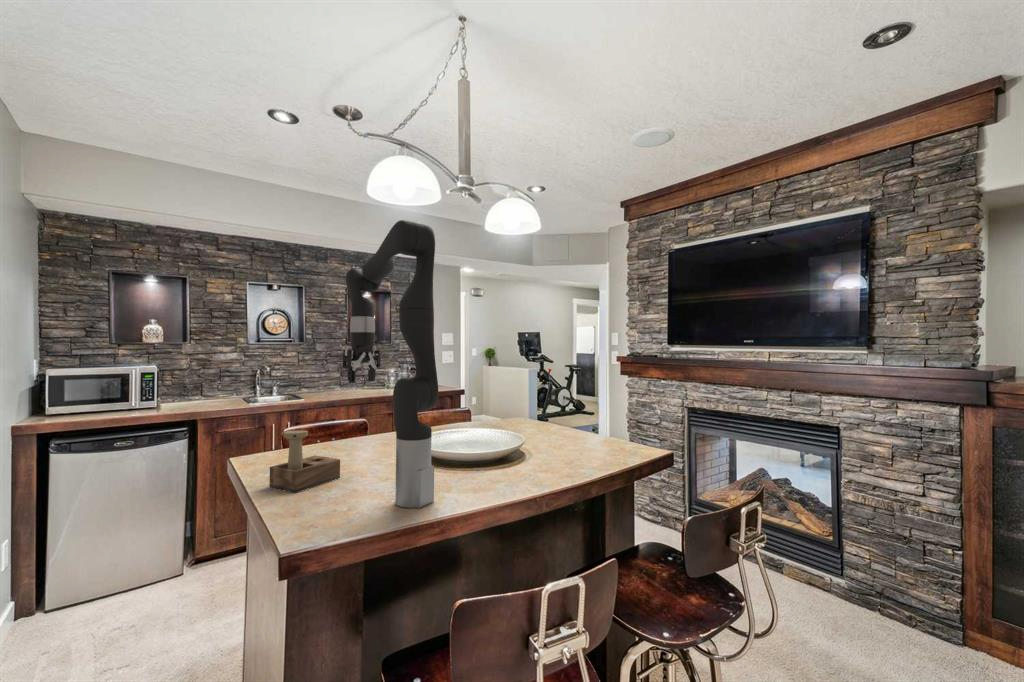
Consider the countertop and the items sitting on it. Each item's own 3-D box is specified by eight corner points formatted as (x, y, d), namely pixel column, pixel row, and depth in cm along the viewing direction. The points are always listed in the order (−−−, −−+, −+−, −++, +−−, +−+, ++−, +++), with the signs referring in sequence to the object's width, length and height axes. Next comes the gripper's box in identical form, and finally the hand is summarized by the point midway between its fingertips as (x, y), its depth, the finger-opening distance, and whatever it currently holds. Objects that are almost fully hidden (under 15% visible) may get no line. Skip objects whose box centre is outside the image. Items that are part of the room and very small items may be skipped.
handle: (306, 484, 131) (306, 432, 131) (281, 486, 129) (282, 433, 129) (307, 479, 136) (308, 429, 136) (284, 481, 134) (285, 431, 134)
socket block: (339, 478, 141) (340, 459, 141) (295, 493, 126) (295, 471, 127) (314, 474, 146) (315, 455, 146) (269, 487, 131) (269, 466, 131)
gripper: (354, 330, 136) (354, 384, 136) (386, 332, 149) (386, 381, 149) (336, 330, 139) (335, 383, 139) (369, 332, 152) (368, 380, 152)
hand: (361, 382), depth 144 cm, fingers open, 8 cm apart
